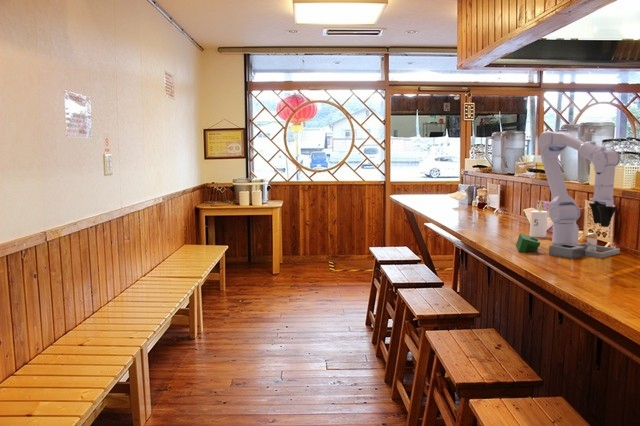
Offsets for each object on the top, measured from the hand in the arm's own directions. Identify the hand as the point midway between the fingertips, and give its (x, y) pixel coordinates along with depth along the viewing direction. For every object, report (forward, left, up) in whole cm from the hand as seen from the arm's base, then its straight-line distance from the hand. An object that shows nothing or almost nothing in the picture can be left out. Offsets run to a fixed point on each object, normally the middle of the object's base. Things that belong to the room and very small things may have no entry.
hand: (601, 224), depth 171 cm
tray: (+4, -1, -10) cm, 11 cm away
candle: (-16, -33, -11) cm, 38 cm away
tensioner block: (+15, -4, -10) cm, 18 cm away
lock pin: (+3, -1, -10) cm, 10 cm away
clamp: (+17, -17, -11) cm, 26 cm away
